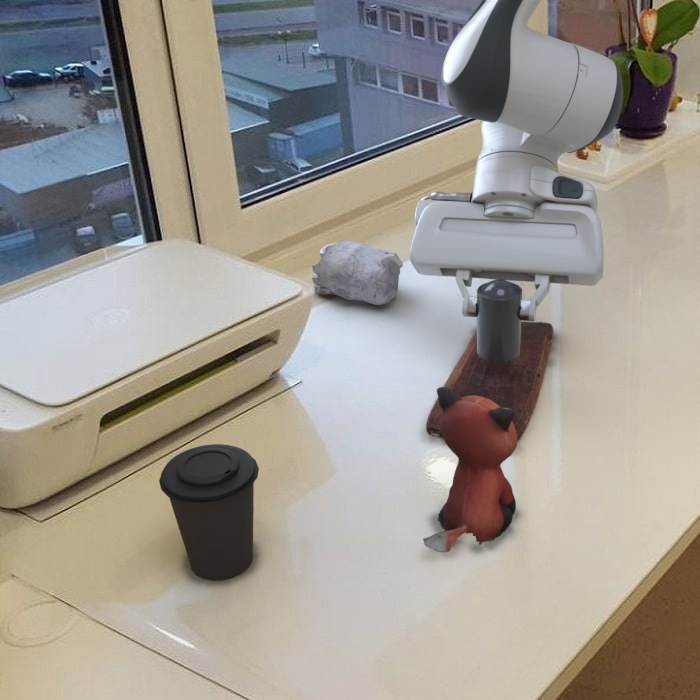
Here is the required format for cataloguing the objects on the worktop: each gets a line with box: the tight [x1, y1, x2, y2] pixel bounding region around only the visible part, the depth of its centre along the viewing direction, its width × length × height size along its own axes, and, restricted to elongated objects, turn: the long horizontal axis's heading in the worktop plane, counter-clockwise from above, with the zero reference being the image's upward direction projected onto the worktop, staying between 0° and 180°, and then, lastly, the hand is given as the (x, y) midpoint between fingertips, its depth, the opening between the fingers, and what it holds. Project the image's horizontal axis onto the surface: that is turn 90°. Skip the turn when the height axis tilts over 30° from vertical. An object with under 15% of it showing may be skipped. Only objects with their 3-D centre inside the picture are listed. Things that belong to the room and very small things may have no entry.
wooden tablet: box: [425, 320, 554, 443], centre depth 114 cm, size 26×2×10 cm
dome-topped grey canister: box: [476, 279, 523, 362], centre depth 111 cm, size 5×5×8 cm
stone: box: [311, 238, 404, 306], centre depth 134 cm, size 8×12×7 cm, turn 60°
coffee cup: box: [158, 443, 260, 581], centre depth 89 cm, size 8×8×10 cm
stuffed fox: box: [422, 386, 518, 553], centre depth 90 cm, size 8×11×12 cm
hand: (498, 317), depth 111 cm, fingers closed on dome-topped grey canister, 4 cm apart
